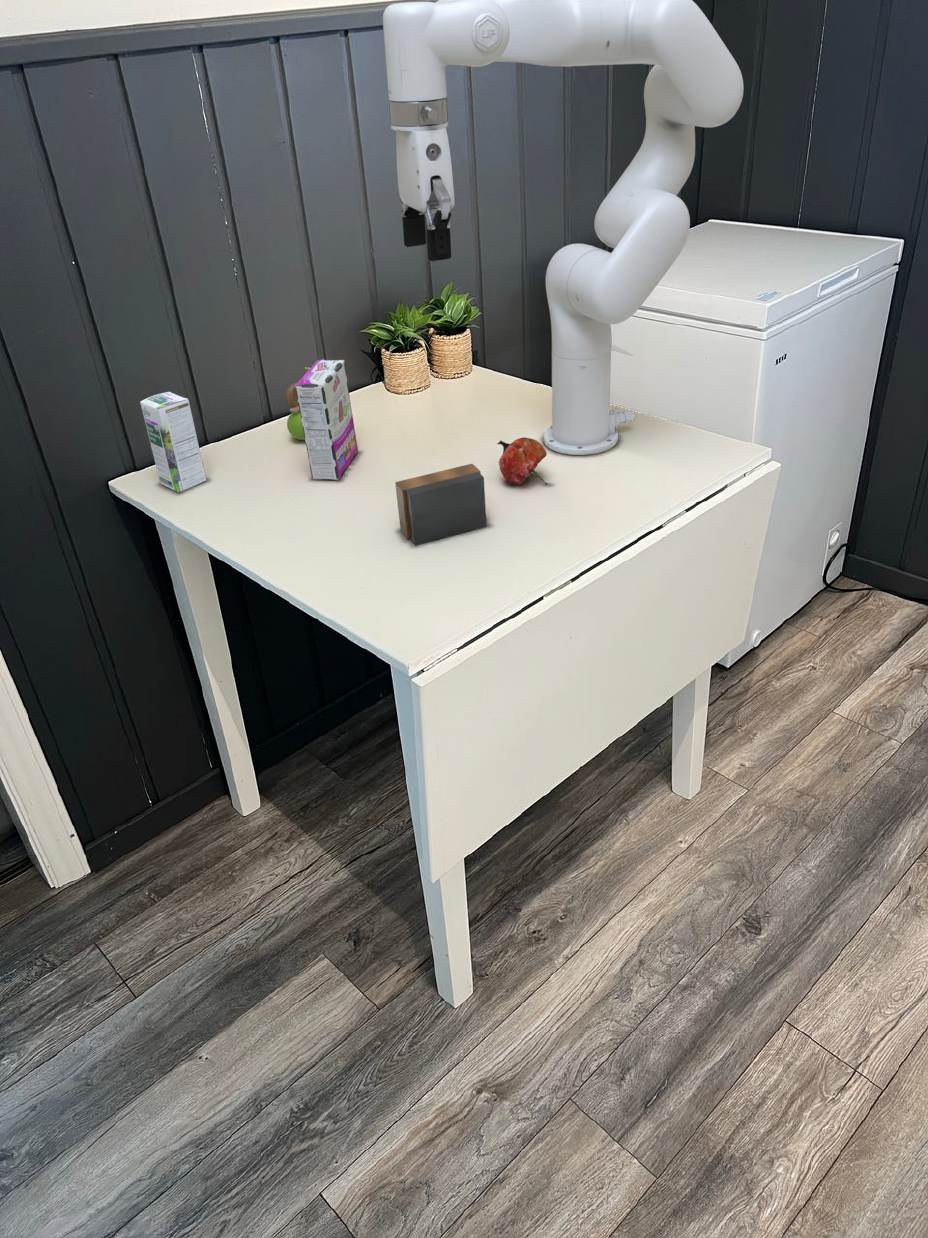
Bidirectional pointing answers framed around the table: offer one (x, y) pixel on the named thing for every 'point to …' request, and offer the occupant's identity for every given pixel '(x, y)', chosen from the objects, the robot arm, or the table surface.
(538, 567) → the table surface
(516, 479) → the pomegranate
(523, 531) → the table surface
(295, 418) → the snail figurine
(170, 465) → the syrup box
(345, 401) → the candy bar box
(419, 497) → the brush
